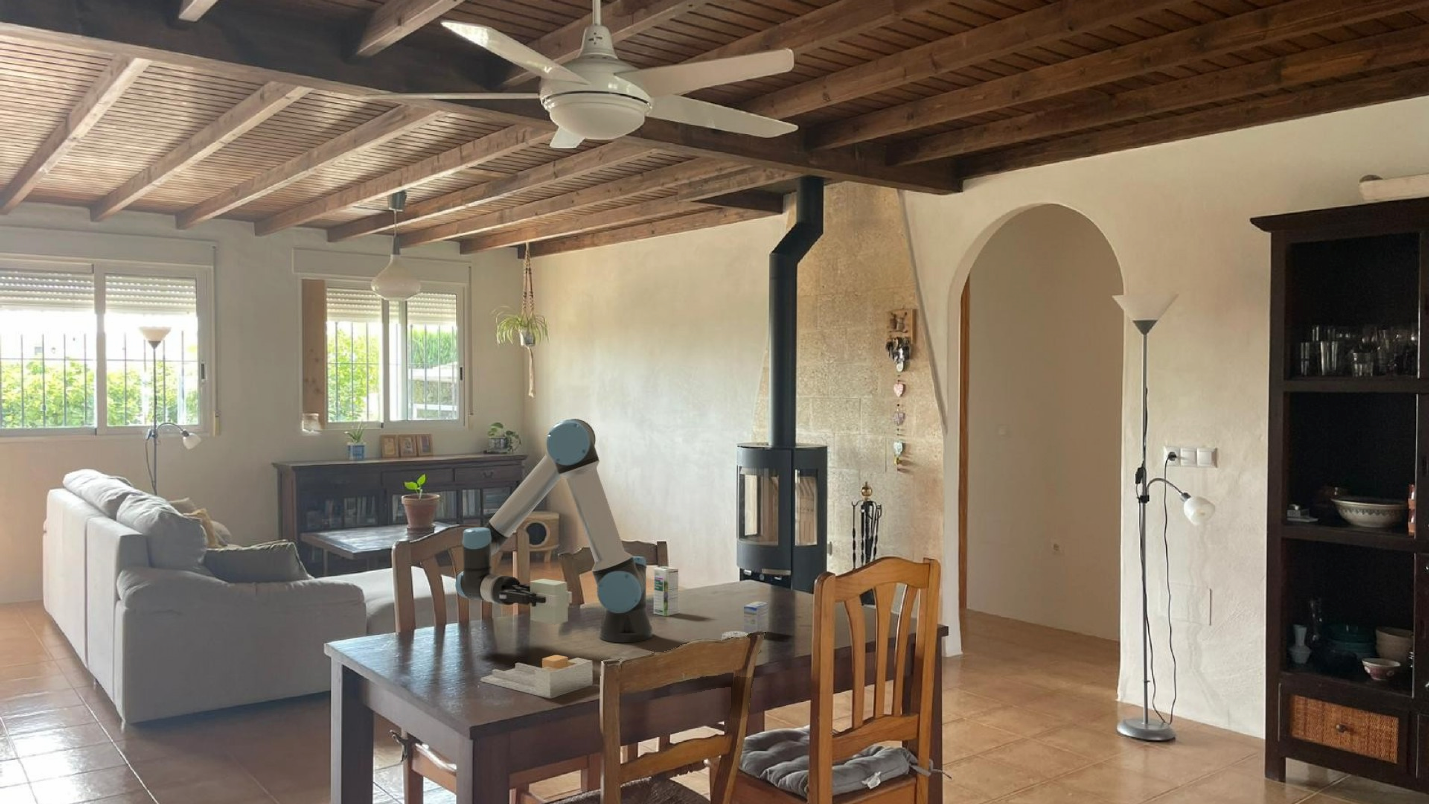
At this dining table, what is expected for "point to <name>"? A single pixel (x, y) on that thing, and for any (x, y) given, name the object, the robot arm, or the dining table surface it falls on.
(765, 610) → the medicine box
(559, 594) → the block
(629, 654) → the washcloth
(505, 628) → the dining table surface
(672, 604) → the syrup box
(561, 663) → the orange rectangular block
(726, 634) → the mechanical component
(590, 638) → the dining table surface
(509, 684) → the rail plate
